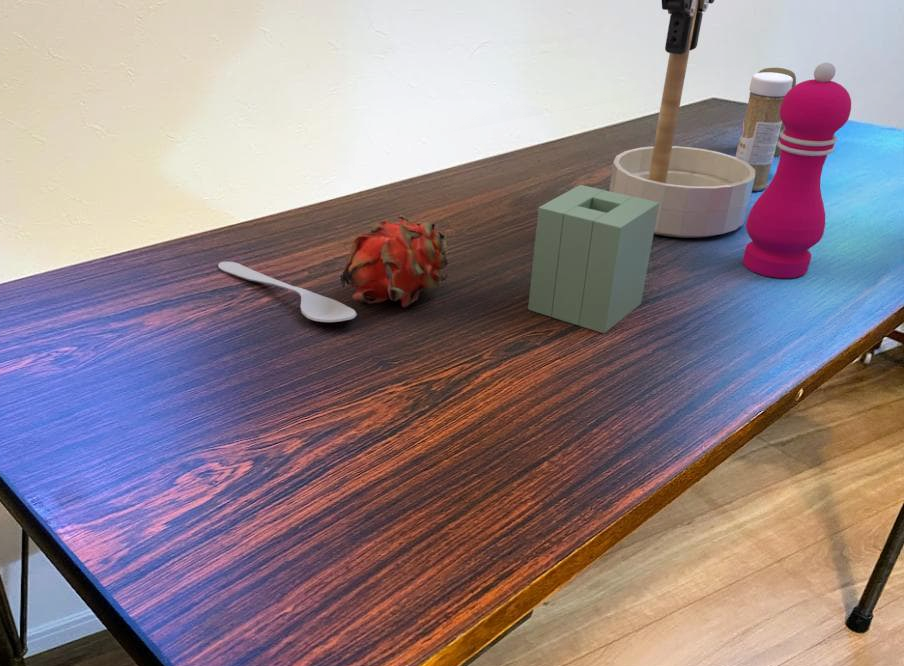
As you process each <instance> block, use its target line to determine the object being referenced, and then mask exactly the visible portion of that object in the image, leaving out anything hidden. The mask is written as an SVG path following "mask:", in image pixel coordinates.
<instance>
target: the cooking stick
mask: <svg viewBox="0 0 904 666" xmlns="http://www.w3.org/2000/svg"><path fill="white" fill-rule="evenodd" d="M698 2H699V1H698V0H697V3H696V7H695V12H694V14H693V22H692V28H691V33H690V39H689V44H688V50H687V51H686V52H685V53H683V54H674V53H668V60H667V67H666V72H665V78H664V83H663V89H662V94H661V95H662V96H661V102H660V107H659V113H658V119H657V125H656V132H655V137H654V144H653V146H654V148H653V154H652V160H651V166H650V172H649V178H648V180H652V181H657V182H662V183H666V179H667V173H668V168H669V162H670V157H671V151H672V146H674V145H673V144H674V141H675V140H674V139H675V133H676V128H677V123H678V117H679V111H680V108H681V107H680V106H681V101H682V95H683V90H684V84H685V79H686V73H687V68H688V62H689V56H690V51H691V50H690V46H691V40H692V35H693V29H694V24H695V18H696V13H697V7H698Z"/></svg>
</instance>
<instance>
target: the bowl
mask: <svg viewBox="0 0 904 666" xmlns="http://www.w3.org/2000/svg"><path fill="white" fill-rule="evenodd" d="M653 148H654V145H653V146H643V147H637V148H634V149H627V150H624V151H623V152H621V153H619V154H617V155H616V156H615V158H614V159H613V162H612V169H611V176H610V182H609V190H608V191H610V192H615V193H619V194H624V195H628V196H632V197H637V198H642V199H646V200H650V201H655V202H659V207H658V212H657V218H656V223H655V229H654V235H659V236H663V237H671V238H686V239H689V238H691V239H692V238H693V239H694V238H709V237H713V236H714V237H715V236H718V235H724V234H726V233H727V234H728V233H730V232H733V231H736V230H738V229H739V228H740V227H741V226H743V225H744V224H745V223H746V222H745V221H746V218H747V214H748V210H749V209H748V208H749V205H750V200H751V196H752V192H753V191H752V188H753V184H754V179H755V169H754V168H753V167H752V166H751V165H750V164H749V163H747V162H745V161H743V160H740V159H738V158H736V156H733V155H729V154H728V153H727V154H726V153H723V152H720V151H716V150H710V149H706V148H705V149H704V148H699V147H690V146H679V145H673V146H672V151H671V157H670V162H669V168H668V173H667V179H666V183H662V182H657V181H652V180H648V178H649V172H650V166H651V160H652V154H653Z"/></svg>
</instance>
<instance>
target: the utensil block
mask: <svg viewBox="0 0 904 666" xmlns="http://www.w3.org/2000/svg"><path fill="white" fill-rule="evenodd" d="M658 207H659V202H655V201H650V200H646V199H642V198H637V197H632V196H628V195H624V194H619V193H615V192H610V191H609V190H605V189H602V188H597V187H593V186H588V185H585V184H584V185H583V184H579V185H577V186H575V187H573V188H572V189H570V190H568V191H566V192H564V193H562V194H561V195H559V196H557V197H554V198H553V199H551V200H549V201H547V202H545V203H544V204H542V205H540V206H538V210H537V221H536V228H535V229H536V230H535V238H534V249H533V257H532V266H531V268H532V269H531V276H530V277H531V278H530V288H529V295H528V304H527V305H528V307H527V311H531V312H534V313H537V314H539V315H544V316H547V317H550V318H553V319H556V320H560V321H563V322H566V323H569V324H571V325H575V326H577V327H578V326H579V327H582V328H584V329H588V330H591V331H594V332H597V333H601V334H606V333H607V332H608V331H609V330H611V329H612V328H613V327H614V326H616V325H617V324H618V323H620V322H621V321H622V320H623V319H625V317H627V316H628V315H629V314H631V313H632V312H633V311H634V310H636V309H637V308H638V307H640V306H641V305H642V302H643V296H644V290H645V286H646V280H647V273H648V267H649V262H650V258H651V257H650V256H651V251H652V245H653V241H654V235H655V234H654V229H655V223H656V218H657V212H658Z"/></svg>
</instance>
